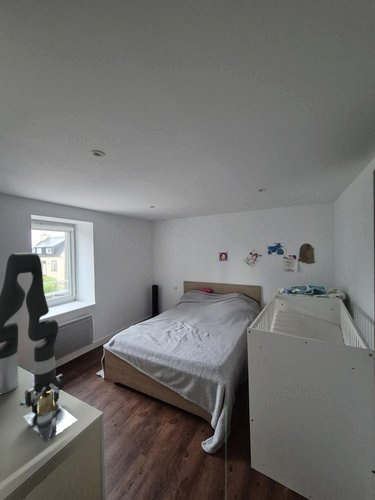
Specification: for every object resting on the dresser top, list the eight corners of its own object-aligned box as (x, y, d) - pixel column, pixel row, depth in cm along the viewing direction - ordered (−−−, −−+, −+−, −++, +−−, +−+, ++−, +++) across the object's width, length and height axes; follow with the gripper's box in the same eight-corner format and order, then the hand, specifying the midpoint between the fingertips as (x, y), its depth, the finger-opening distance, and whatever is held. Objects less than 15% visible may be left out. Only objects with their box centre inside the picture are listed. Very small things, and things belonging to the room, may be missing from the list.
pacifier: (20, 401, 93) (20, 408, 88) (20, 387, 93) (20, 394, 88) (40, 394, 97) (41, 400, 93) (40, 380, 97) (41, 386, 93)
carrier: (22, 419, 82) (22, 407, 82) (52, 402, 91) (52, 390, 91) (45, 445, 70) (45, 431, 70) (77, 422, 80) (76, 409, 80)
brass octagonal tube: (33, 411, 85) (32, 396, 85) (51, 400, 91) (51, 387, 91) (40, 418, 81) (39, 403, 81) (58, 406, 87) (58, 392, 87)
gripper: (58, 358, 94) (59, 393, 94) (20, 374, 82) (21, 414, 82) (66, 362, 90) (68, 399, 90) (28, 380, 78) (29, 422, 78)
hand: (46, 406), depth 86 cm, fingers closed on brass octagonal tube, 7 cm apart
